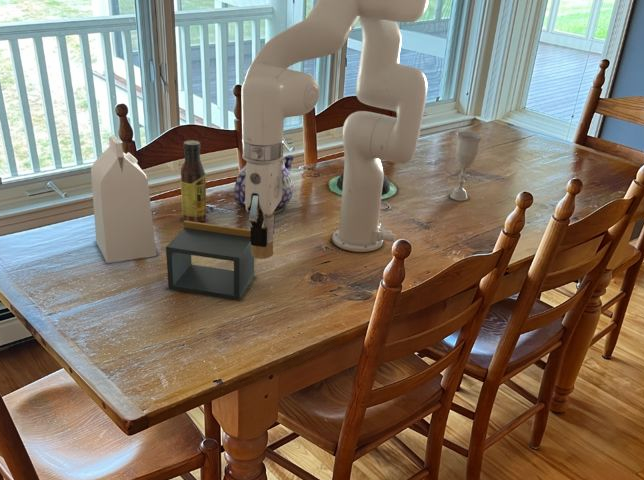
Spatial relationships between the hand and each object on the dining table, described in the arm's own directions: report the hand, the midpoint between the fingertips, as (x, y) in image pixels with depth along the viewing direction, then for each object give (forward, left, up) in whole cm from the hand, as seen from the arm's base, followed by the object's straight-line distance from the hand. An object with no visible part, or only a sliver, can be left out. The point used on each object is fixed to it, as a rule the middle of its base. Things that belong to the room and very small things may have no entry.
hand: (262, 239), depth 143 cm
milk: (+38, -17, -16) cm, 44 cm away
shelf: (+13, -7, -15) cm, 21 cm away
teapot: (+14, -53, -16) cm, 57 cm away
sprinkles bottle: (0, 0, -4) cm, 4 cm away
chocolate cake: (-9, -77, -16) cm, 79 cm away
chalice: (-37, -79, -16) cm, 88 cm away
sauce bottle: (+29, -39, -16) cm, 51 cm away
